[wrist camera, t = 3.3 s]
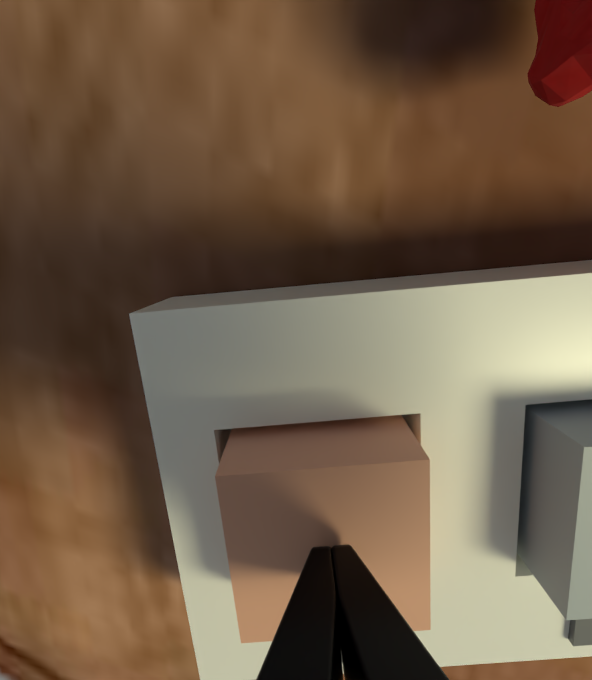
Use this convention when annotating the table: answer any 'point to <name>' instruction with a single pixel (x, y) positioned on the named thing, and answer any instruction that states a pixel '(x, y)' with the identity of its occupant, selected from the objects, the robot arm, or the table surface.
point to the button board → (375, 401)
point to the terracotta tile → (324, 512)
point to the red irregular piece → (562, 51)
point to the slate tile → (558, 503)
